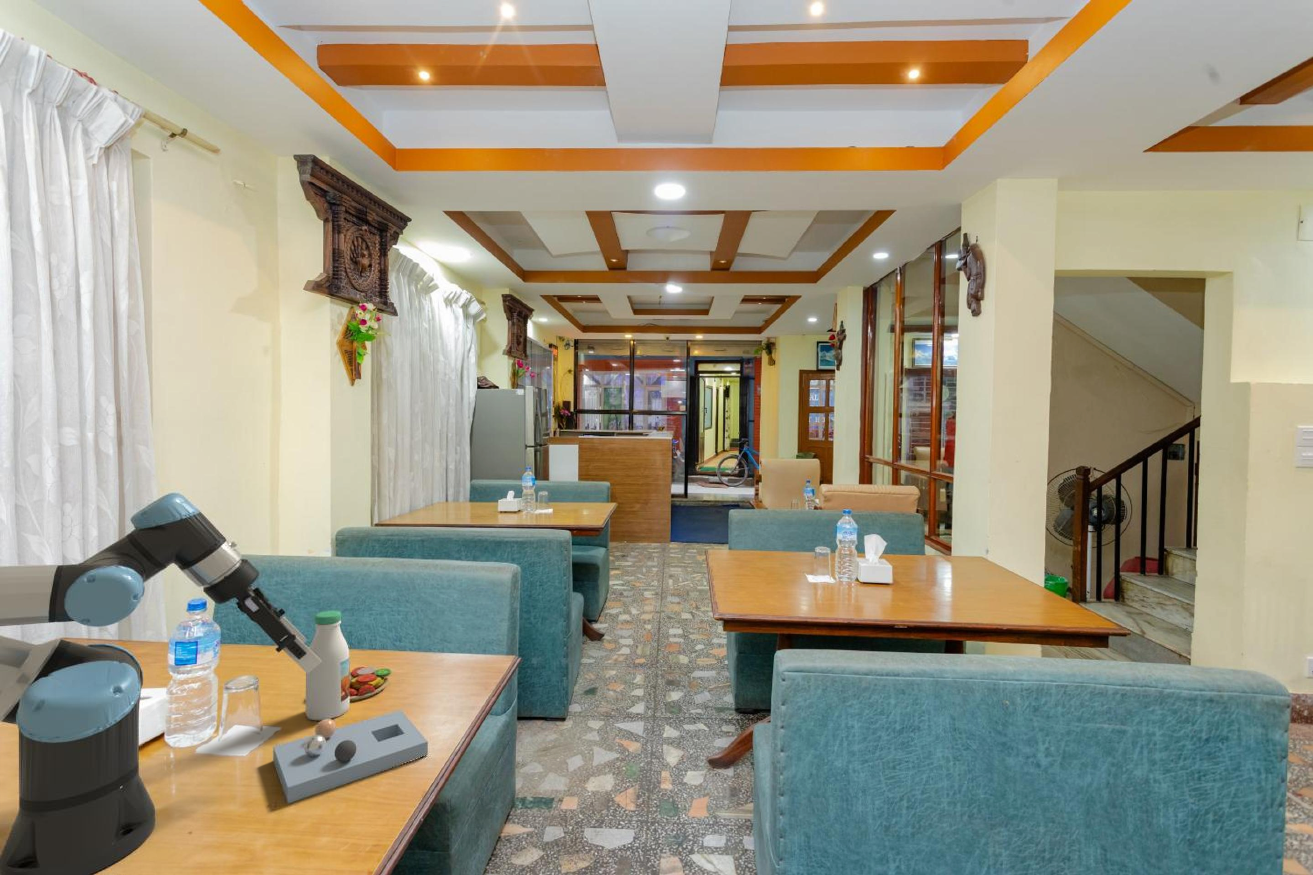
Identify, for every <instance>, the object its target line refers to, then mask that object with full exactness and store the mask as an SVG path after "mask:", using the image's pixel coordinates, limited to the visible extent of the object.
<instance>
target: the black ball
mask: <svg viewBox="0 0 1313 875" xmlns="http://www.w3.org/2000/svg"><path fill="white" fill-rule="evenodd" d="M355 753H356V745H355V743H354V742H353V741H351V740H345V741H342V742H341V743H339V744H338V745H337V747H336V749H335V758H336V759H337V760H338V761H340V762H347V761H349V760H351V759H352V758H353V757H354V755H355Z"/></svg>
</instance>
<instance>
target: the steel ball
mask: <svg viewBox="0 0 1313 875" xmlns="http://www.w3.org/2000/svg"><path fill="white" fill-rule="evenodd" d="M313 735H314V736H312V737H310V738H309V739H308V740H307V741H306V743H305V745H304V750H305V753H306V754H307V755H309V756H317V755H319V754H321V753H322V752H323V751H324V749H325V747H326V740H325V738H324V737H323V736H321V735H315V734H313Z"/></svg>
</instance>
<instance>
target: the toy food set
mask: <svg viewBox="0 0 1313 875" xmlns="http://www.w3.org/2000/svg"><path fill="white" fill-rule="evenodd" d="M391 675H392V670H391V669H389V668H380V669H377V667H374V666H366V667H365V666H359V667H356V668H353V670H352V671H351V672H350V702H354V701H361V700H364V699H363V698H365V699H368V698H370V696H371V697H373V696H375V695H377V694H379V693H380V692H382V691H383V690H384V689H385V688H386V687H387V686H388V684H389V678H388V677H389V676H391ZM381 690H382V691H381ZM376 693H377V694H376ZM374 694H375V695H374ZM372 695H373V696H372ZM367 697H368V698H367ZM360 699H361V700H360Z"/></svg>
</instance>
